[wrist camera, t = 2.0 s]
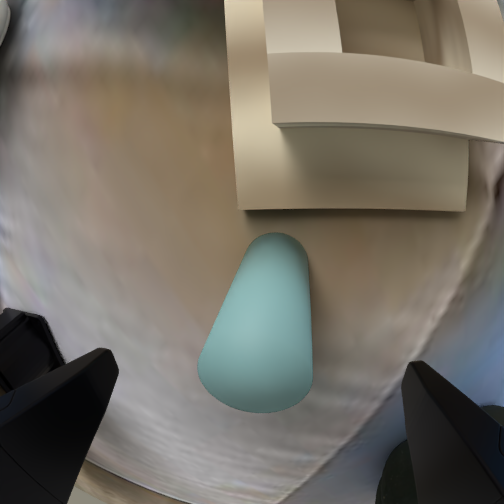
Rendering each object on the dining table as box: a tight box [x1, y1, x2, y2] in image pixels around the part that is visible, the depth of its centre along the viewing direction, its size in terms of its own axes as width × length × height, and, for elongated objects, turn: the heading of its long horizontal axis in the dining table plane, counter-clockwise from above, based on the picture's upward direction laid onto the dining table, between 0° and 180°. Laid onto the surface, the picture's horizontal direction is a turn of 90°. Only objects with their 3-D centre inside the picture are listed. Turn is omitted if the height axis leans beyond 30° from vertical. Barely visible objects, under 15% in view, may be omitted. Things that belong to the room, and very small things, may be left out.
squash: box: [375, 405, 504, 504], centre depth 14 cm, size 14×15×15 cm
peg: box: [197, 233, 313, 413], centre depth 11 cm, size 3×3×8 cm
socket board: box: [224, 0, 504, 212], centre depth 9 cm, size 12×11×5 cm
